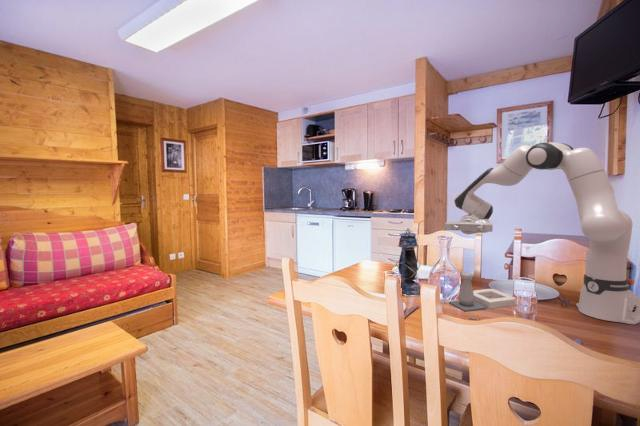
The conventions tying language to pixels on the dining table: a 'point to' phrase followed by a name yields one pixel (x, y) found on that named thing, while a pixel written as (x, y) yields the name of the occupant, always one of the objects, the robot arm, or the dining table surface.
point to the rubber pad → (467, 308)
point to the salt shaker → (466, 290)
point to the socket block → (499, 300)
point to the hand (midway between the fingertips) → (467, 228)
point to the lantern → (408, 264)
